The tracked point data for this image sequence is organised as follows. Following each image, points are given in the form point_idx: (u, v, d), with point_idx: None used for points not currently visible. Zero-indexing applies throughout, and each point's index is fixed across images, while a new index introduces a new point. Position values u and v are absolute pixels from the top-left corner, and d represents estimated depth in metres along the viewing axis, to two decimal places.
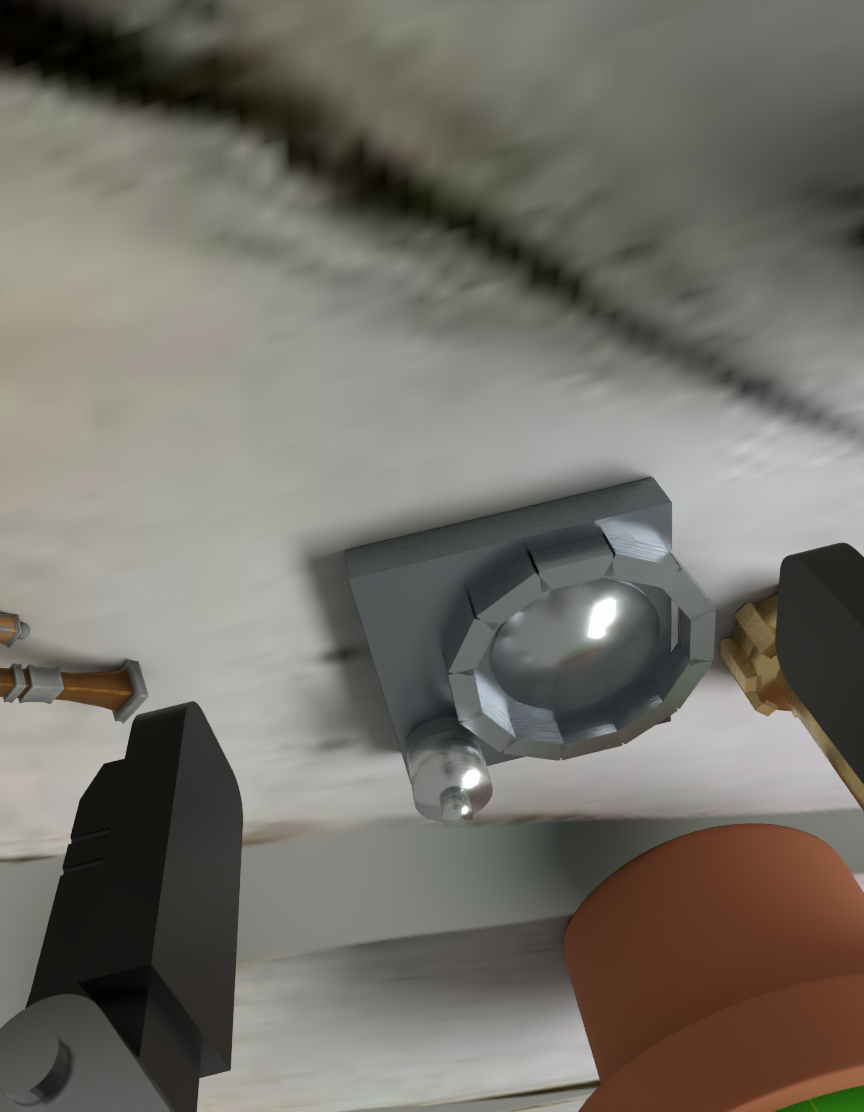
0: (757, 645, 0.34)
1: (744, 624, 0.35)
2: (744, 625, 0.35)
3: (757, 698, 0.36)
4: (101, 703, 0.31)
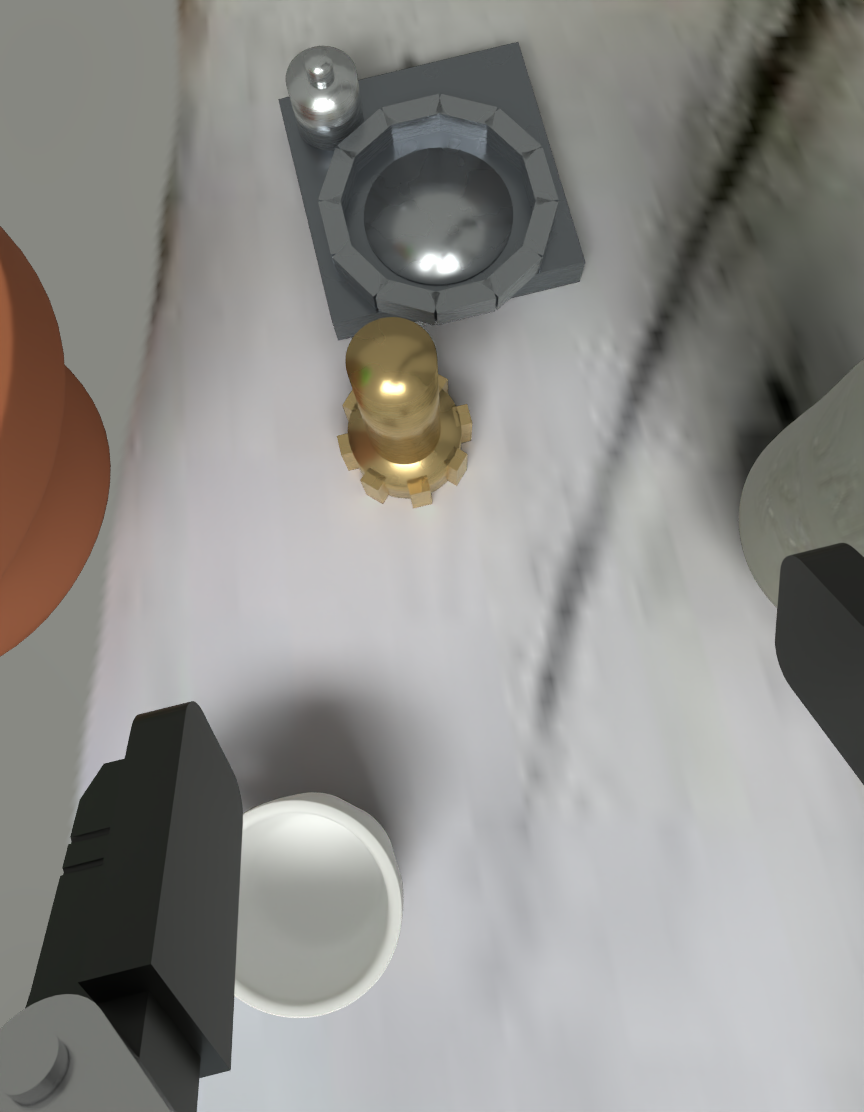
0: None
1: None
2: None
3: None
4: None
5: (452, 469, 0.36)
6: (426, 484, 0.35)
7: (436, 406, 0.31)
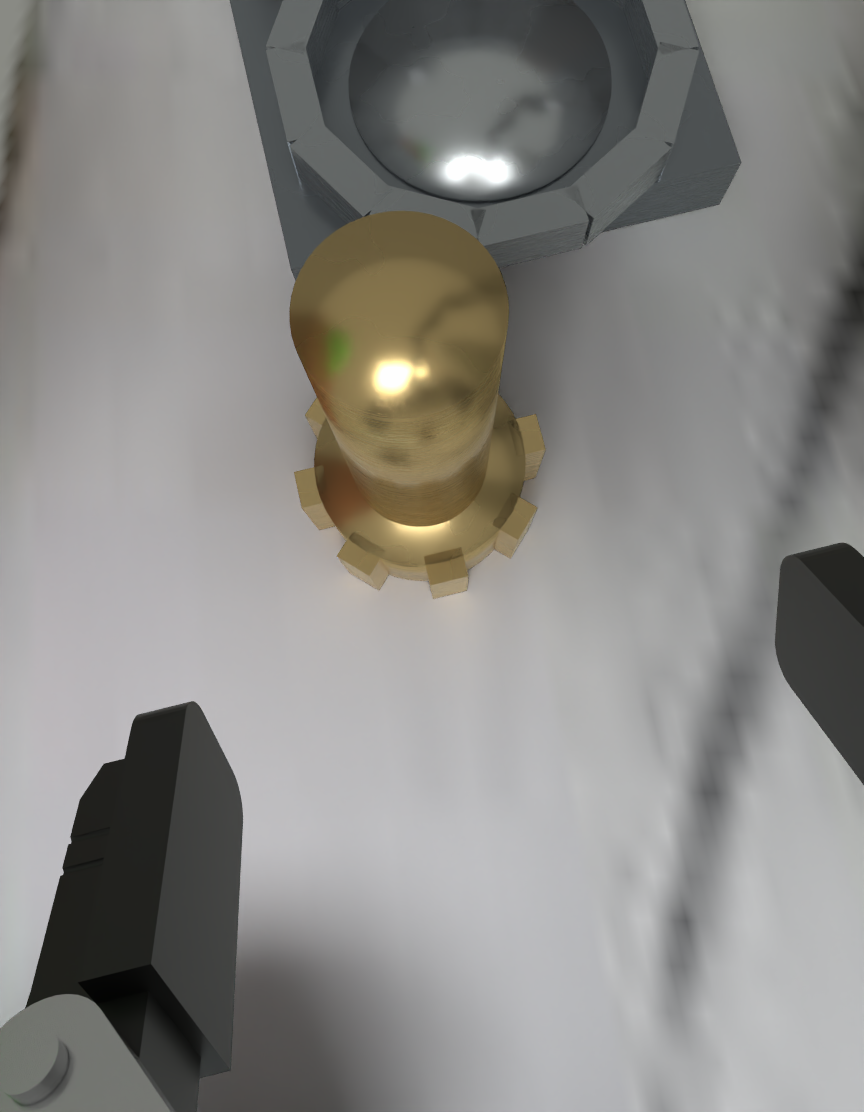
0: None
1: None
2: None
3: None
4: None
5: (509, 536, 0.19)
6: (460, 565, 0.19)
7: (492, 420, 0.15)
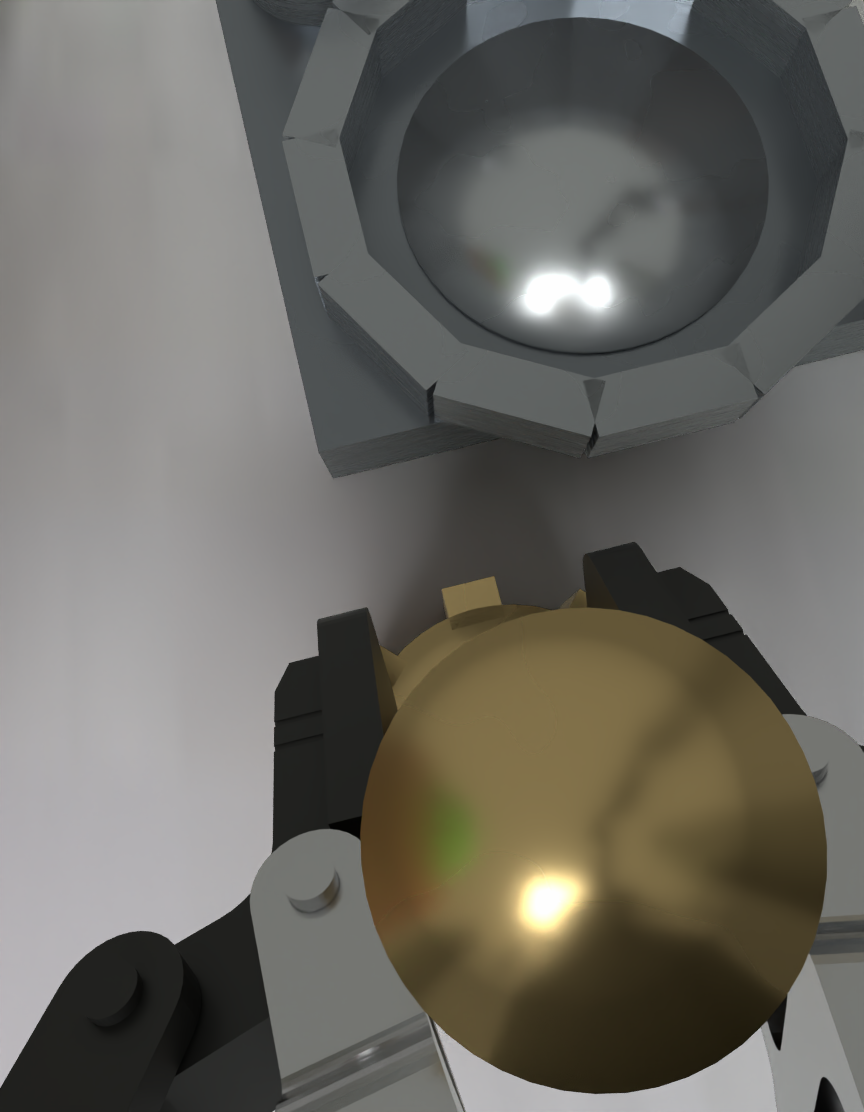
0: None
1: None
2: None
3: None
4: None
5: None
6: None
7: None
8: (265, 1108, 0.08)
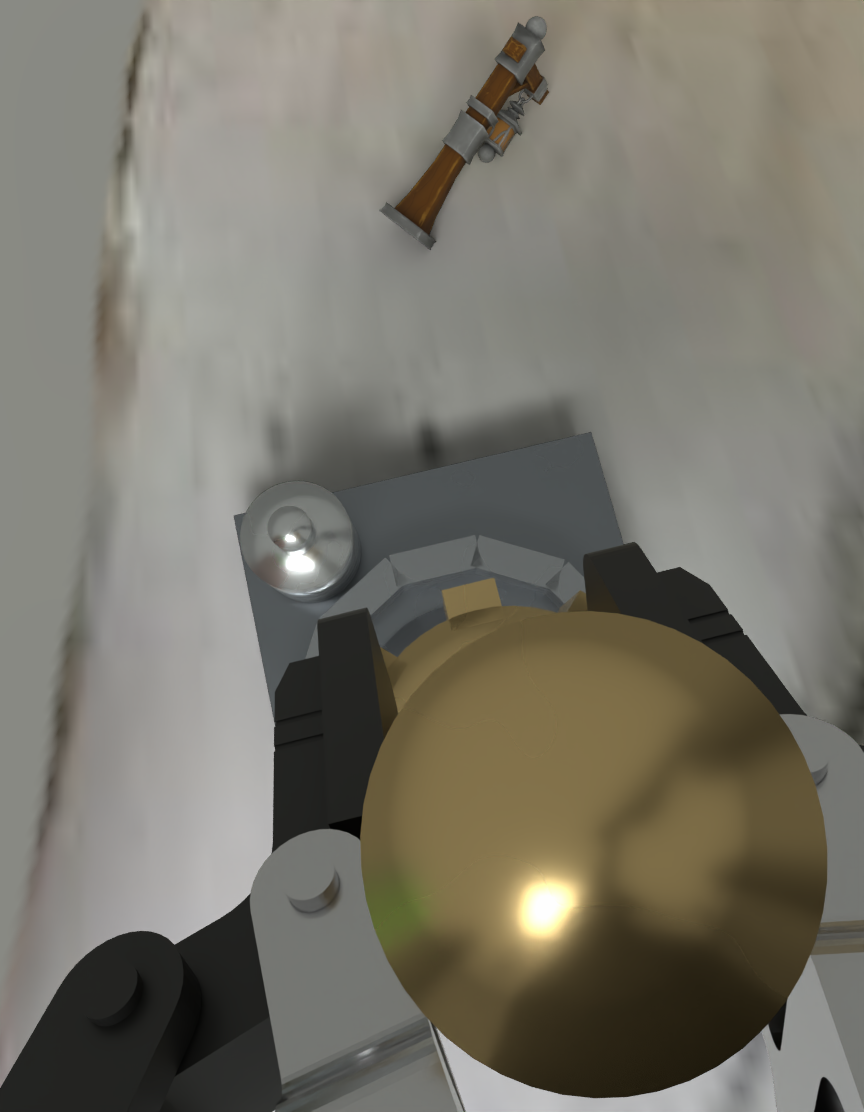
0: None
1: None
2: None
3: None
4: (413, 193, 0.29)
5: None
6: None
7: None
8: (263, 1108, 0.08)
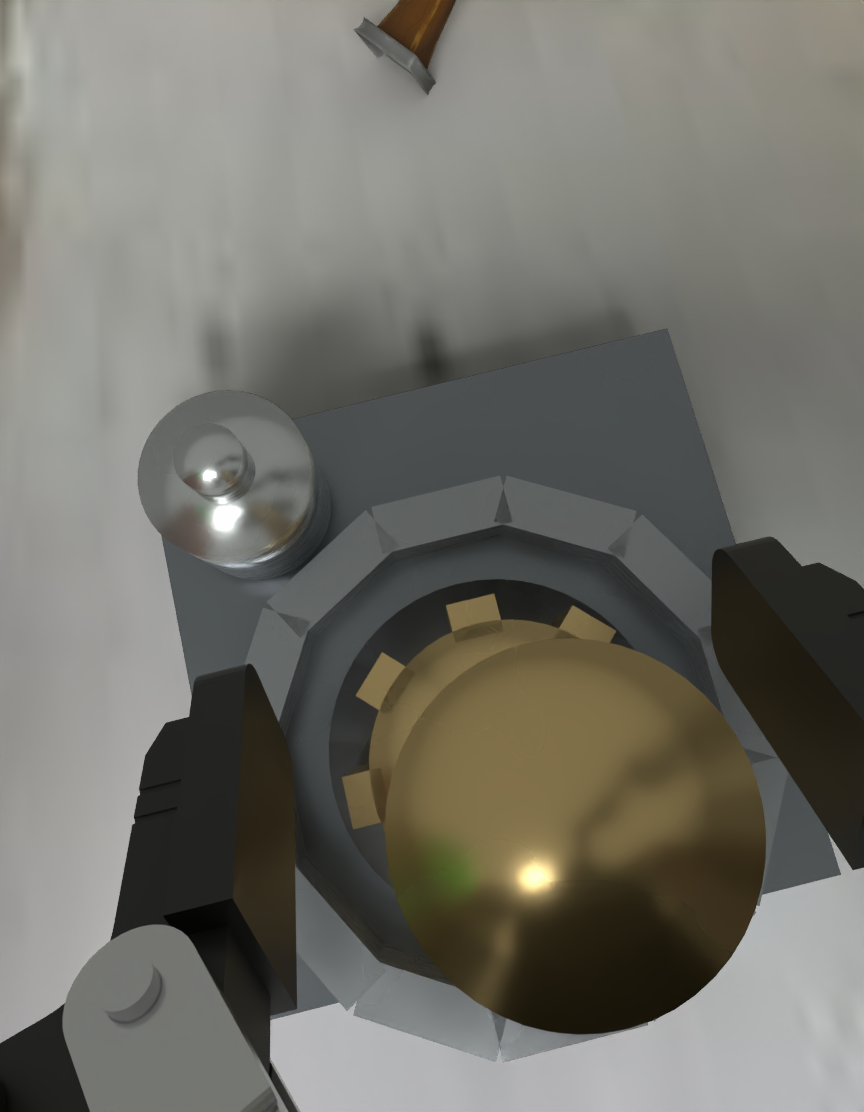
0: None
1: None
2: None
3: None
4: (403, 6, 0.20)
5: None
6: None
7: None
8: None
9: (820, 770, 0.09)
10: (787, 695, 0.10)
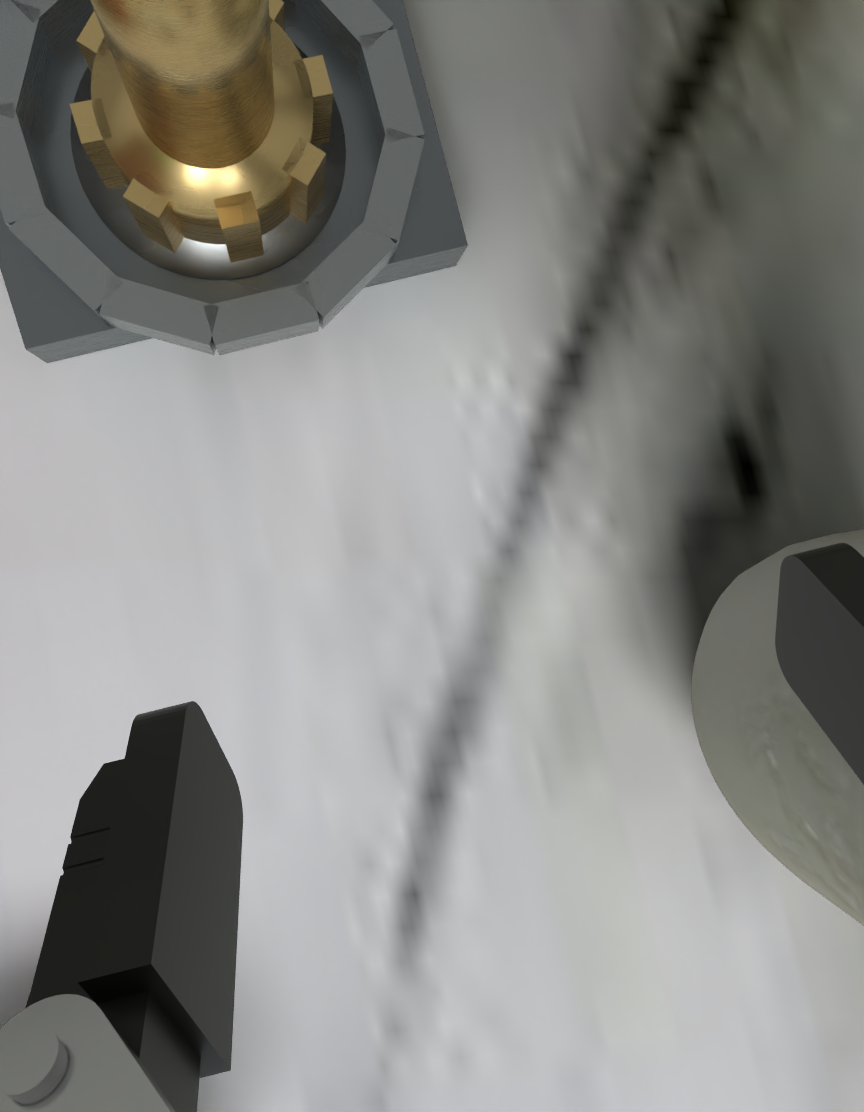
0: None
1: None
2: None
3: None
4: None
5: (299, 183, 0.19)
6: (251, 209, 0.19)
7: (263, 11, 0.15)
8: None
9: None
10: None
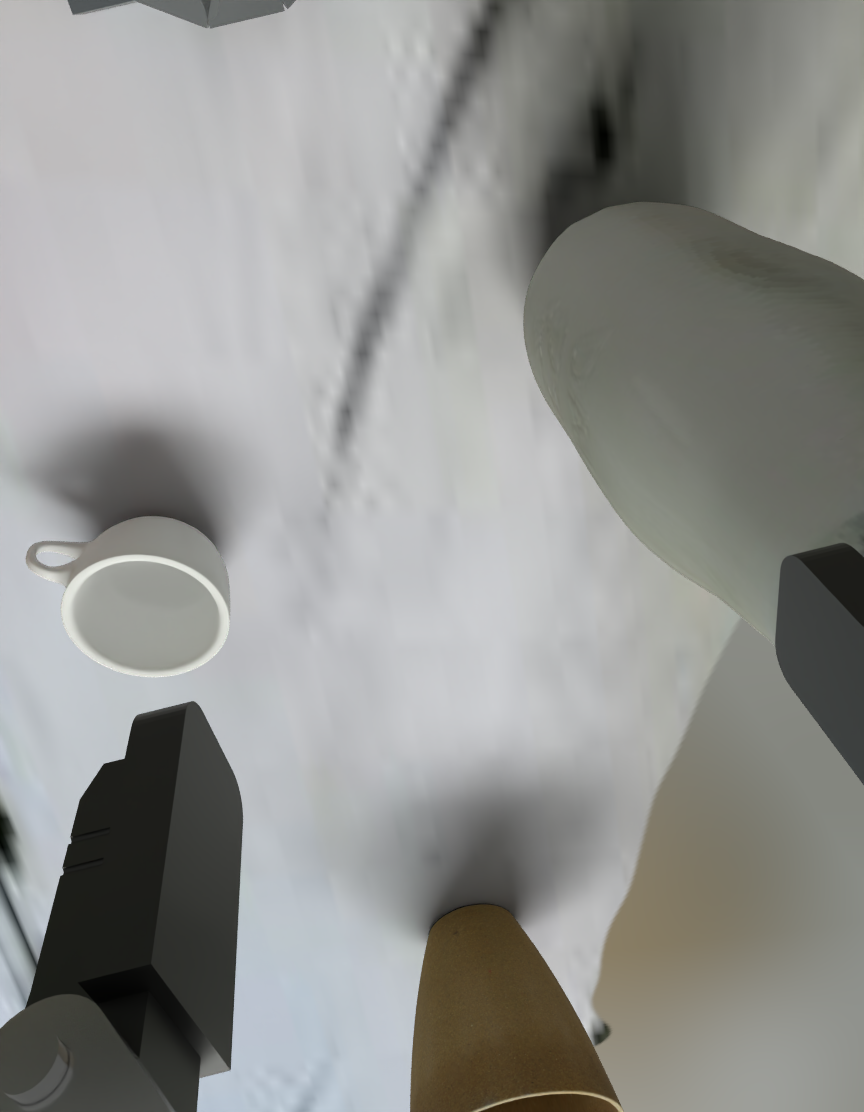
0: None
1: None
2: None
3: None
4: None
5: None
6: None
7: None
8: None
9: None
10: None
